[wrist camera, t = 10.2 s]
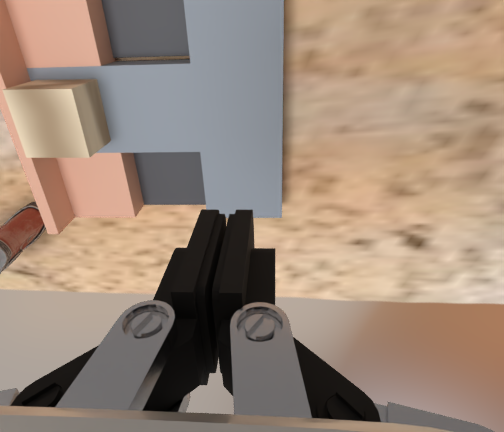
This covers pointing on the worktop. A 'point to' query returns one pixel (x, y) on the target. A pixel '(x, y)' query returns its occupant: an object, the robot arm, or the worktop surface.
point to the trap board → (156, 102)
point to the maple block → (58, 117)
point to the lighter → (19, 233)
